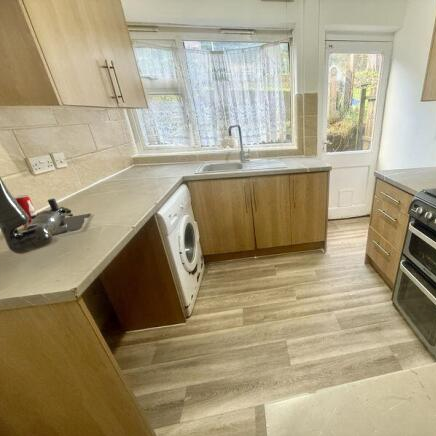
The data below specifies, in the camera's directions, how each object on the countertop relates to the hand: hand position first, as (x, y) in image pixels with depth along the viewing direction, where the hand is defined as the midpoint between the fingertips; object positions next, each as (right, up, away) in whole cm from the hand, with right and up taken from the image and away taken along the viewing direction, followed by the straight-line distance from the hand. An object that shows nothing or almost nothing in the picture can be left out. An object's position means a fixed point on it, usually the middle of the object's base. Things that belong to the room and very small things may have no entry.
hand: (58, 209), depth 108 cm
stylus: (+2, -8, +1) cm, 8 cm away
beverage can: (-18, -8, +7) cm, 21 cm away
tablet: (-2, -7, +7) cm, 10 cm away
